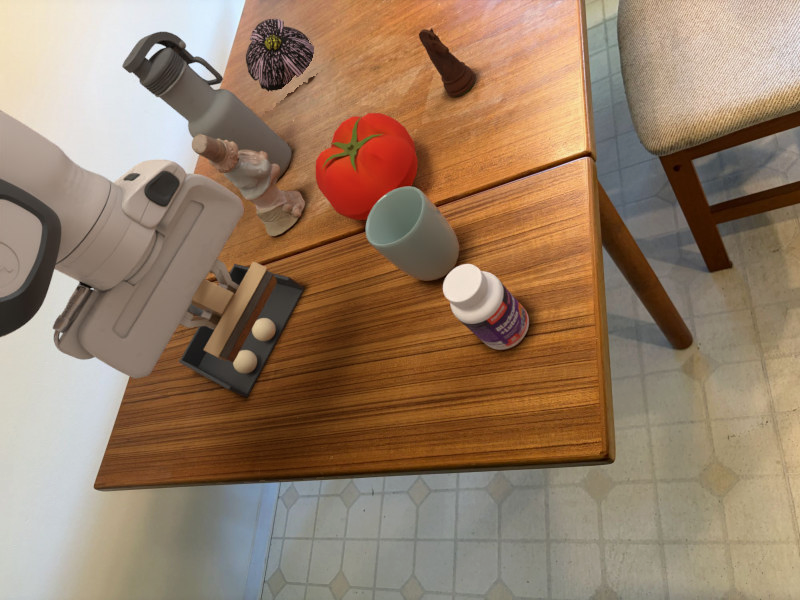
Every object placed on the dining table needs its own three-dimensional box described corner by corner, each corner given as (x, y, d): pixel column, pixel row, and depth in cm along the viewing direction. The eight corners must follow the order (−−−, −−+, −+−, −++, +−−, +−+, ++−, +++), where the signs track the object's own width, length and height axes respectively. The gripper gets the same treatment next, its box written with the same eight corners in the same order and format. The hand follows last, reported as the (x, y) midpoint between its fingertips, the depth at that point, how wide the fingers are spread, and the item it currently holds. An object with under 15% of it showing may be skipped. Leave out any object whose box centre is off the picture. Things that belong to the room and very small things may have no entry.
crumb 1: (248, 376, 78) (260, 356, 78) (250, 379, 75) (262, 358, 75) (227, 365, 77) (240, 344, 77) (229, 367, 74) (242, 346, 74)
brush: (224, 360, 53) (160, 329, 53) (233, 365, 58) (174, 337, 58) (274, 270, 56) (212, 240, 56) (278, 282, 60) (222, 254, 60)
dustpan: (305, 288, 79) (289, 277, 77) (247, 397, 75) (228, 389, 73) (216, 264, 96) (200, 254, 94) (165, 352, 92) (147, 345, 90)
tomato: (374, 251, 74) (327, 210, 67) (332, 197, 86) (287, 157, 79) (453, 174, 73) (412, 123, 66) (398, 130, 84) (359, 82, 77)
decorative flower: (245, 77, 101) (224, 27, 107) (272, 119, 112) (251, 71, 118) (317, 41, 101) (291, -8, 107) (337, 86, 111) (312, 39, 118)
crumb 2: (256, 347, 76) (259, 340, 79) (278, 339, 76) (280, 331, 79) (246, 327, 75) (250, 320, 78) (268, 318, 75) (271, 311, 78)
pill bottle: (523, 353, 55) (478, 311, 48) (476, 348, 58) (428, 307, 51) (536, 304, 56) (495, 256, 50) (489, 302, 60) (445, 256, 53)
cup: (408, 294, 67) (358, 252, 60) (417, 240, 71) (371, 194, 64) (465, 285, 63) (419, 238, 56) (472, 228, 66) (429, 177, 59)
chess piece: (461, 100, 79) (424, 45, 72) (440, 94, 82) (402, 41, 75) (482, 75, 79) (447, 18, 72) (459, 69, 82) (424, 15, 75)
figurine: (301, 231, 86) (197, 148, 72) (264, 241, 91) (159, 165, 77) (314, 185, 90) (218, 98, 76) (278, 197, 95) (181, 117, 81)
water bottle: (271, 145, 105) (140, 27, 85) (303, 142, 99) (170, 14, 79) (245, 190, 103) (105, 79, 83) (277, 190, 96) (132, 71, 76)
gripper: (52, 352, 45) (191, 407, 54) (182, 146, 50) (289, 230, 59) (30, 336, 49) (163, 390, 59) (152, 147, 54) (256, 226, 64)
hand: (227, 308), depth 59 cm, fingers closed on brush, 2 cm apart
